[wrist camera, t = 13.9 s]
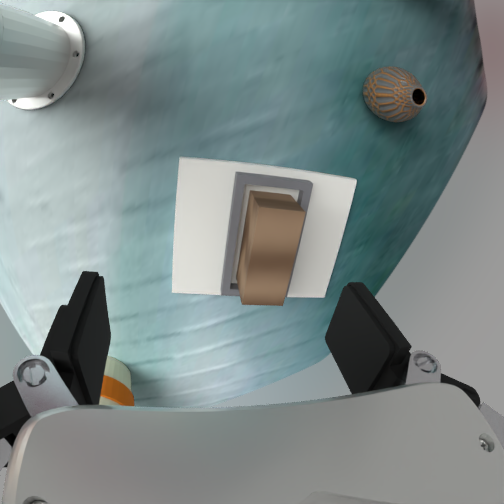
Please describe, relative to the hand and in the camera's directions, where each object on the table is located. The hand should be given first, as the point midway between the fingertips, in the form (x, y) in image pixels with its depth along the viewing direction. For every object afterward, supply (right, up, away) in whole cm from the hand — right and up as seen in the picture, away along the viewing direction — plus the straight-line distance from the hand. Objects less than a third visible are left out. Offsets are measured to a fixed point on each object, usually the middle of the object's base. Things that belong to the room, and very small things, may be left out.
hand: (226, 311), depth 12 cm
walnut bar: (+2, +4, +28) cm, 29 cm away
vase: (+17, +22, +23) cm, 36 cm away
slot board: (+2, +4, +29) cm, 30 cm away
